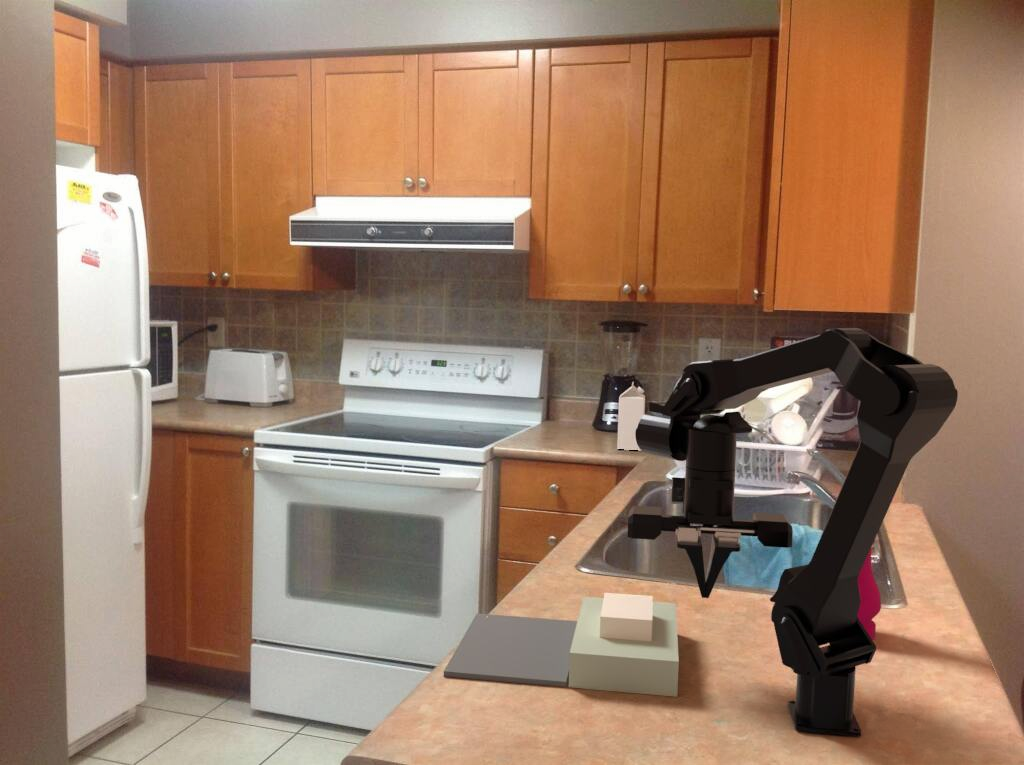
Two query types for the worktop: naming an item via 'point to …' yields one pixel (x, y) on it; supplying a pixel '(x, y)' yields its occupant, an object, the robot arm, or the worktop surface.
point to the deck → (625, 654)
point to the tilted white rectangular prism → (626, 617)
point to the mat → (514, 650)
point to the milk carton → (630, 417)
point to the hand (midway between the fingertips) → (704, 597)
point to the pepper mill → (868, 596)
